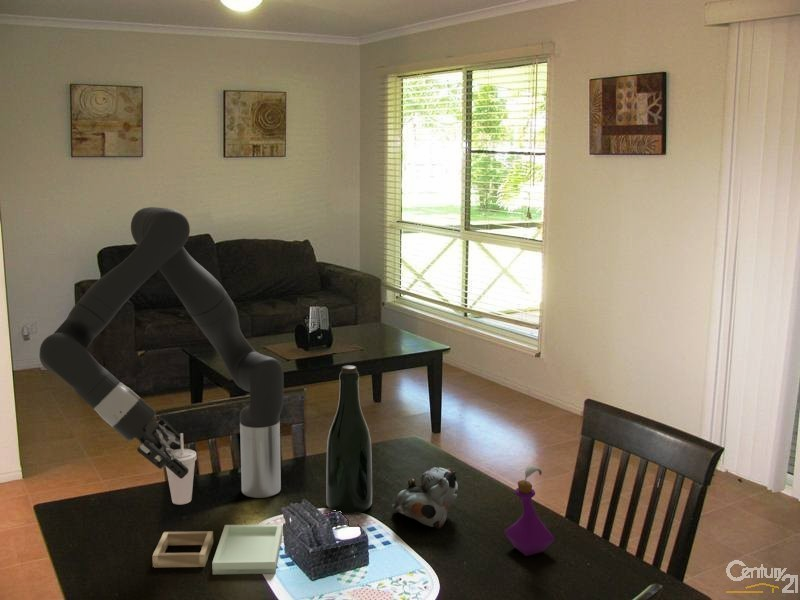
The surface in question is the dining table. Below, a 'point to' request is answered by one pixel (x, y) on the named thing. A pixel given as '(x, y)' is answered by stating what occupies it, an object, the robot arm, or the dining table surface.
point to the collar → (183, 558)
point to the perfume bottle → (528, 522)
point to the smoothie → (183, 487)
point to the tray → (248, 549)
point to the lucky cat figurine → (428, 497)
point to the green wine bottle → (349, 451)
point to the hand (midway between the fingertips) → (188, 467)
